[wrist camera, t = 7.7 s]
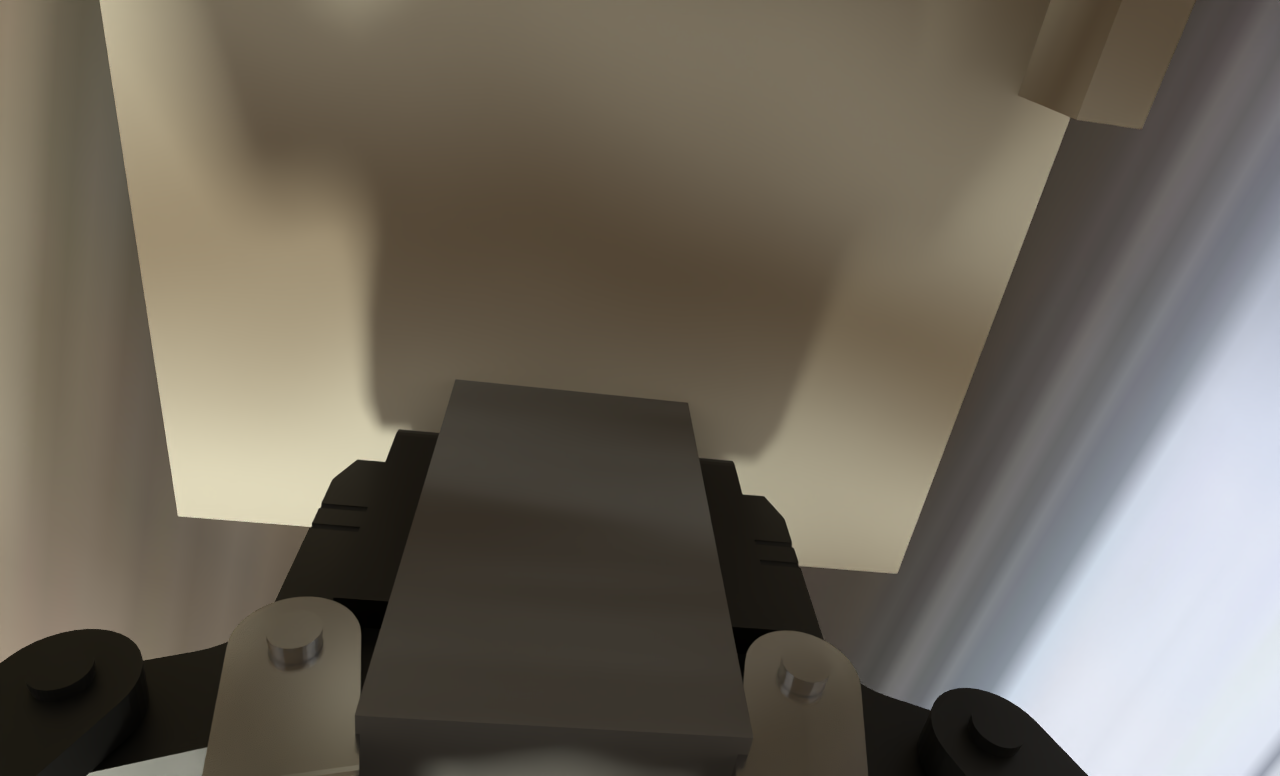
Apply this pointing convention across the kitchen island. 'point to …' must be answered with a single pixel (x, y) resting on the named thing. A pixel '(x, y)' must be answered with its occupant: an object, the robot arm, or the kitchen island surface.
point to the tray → (589, 309)
